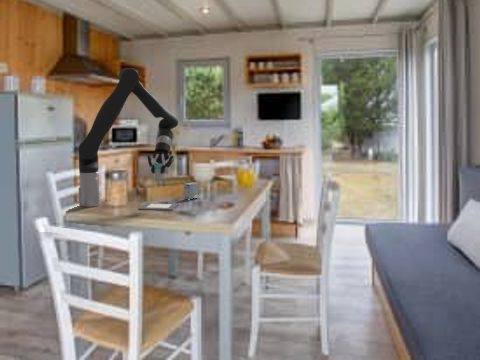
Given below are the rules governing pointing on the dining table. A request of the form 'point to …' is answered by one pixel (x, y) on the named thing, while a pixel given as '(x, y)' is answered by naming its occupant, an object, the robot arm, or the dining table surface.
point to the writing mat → (158, 206)
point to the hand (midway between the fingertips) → (157, 172)
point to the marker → (158, 172)
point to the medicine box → (191, 190)
